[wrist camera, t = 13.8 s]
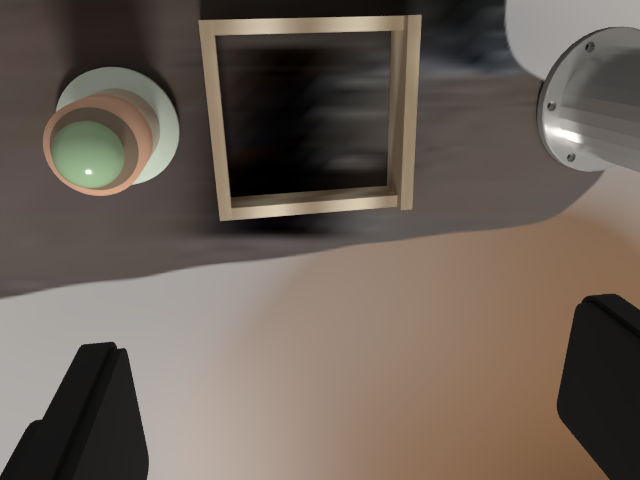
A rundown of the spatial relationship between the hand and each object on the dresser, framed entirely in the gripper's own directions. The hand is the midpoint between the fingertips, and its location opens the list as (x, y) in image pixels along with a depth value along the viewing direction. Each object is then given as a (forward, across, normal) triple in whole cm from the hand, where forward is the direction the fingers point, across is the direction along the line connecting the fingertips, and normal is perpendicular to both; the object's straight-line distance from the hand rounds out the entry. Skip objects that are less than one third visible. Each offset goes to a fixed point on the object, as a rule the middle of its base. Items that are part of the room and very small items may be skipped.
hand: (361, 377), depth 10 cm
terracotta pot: (+33, +12, 0) cm, 35 cm away
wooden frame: (+34, -3, 0) cm, 34 cm away
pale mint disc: (+34, +12, 0) cm, 36 cm away
